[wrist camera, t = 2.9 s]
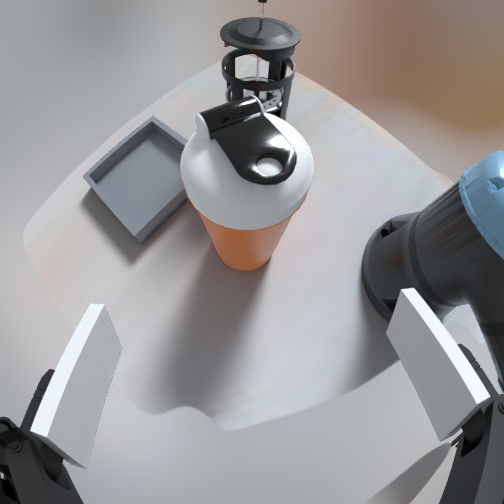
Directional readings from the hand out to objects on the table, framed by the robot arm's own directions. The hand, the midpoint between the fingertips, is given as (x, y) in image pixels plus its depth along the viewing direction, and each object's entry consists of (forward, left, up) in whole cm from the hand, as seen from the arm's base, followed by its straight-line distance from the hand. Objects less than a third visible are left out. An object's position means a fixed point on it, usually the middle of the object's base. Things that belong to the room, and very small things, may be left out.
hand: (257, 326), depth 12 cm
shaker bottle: (+11, 0, -21) cm, 23 cm away
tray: (+21, +13, -20) cm, 32 cm away
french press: (+30, -3, -21) cm, 37 cm away
